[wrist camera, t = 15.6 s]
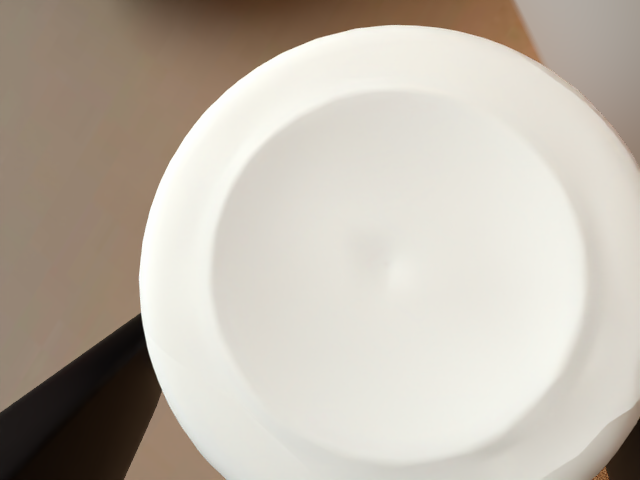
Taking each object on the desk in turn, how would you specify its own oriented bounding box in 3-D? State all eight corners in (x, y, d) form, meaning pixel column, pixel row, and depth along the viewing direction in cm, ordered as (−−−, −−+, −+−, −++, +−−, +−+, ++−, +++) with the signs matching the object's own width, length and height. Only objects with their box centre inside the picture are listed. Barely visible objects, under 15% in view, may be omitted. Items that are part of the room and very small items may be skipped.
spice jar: (416, 221, 17) (586, -66, 4) (450, 341, 16) (809, 508, 3) (301, 251, 17) (79, 84, 4) (329, 369, 17) (170, 634, 3)
